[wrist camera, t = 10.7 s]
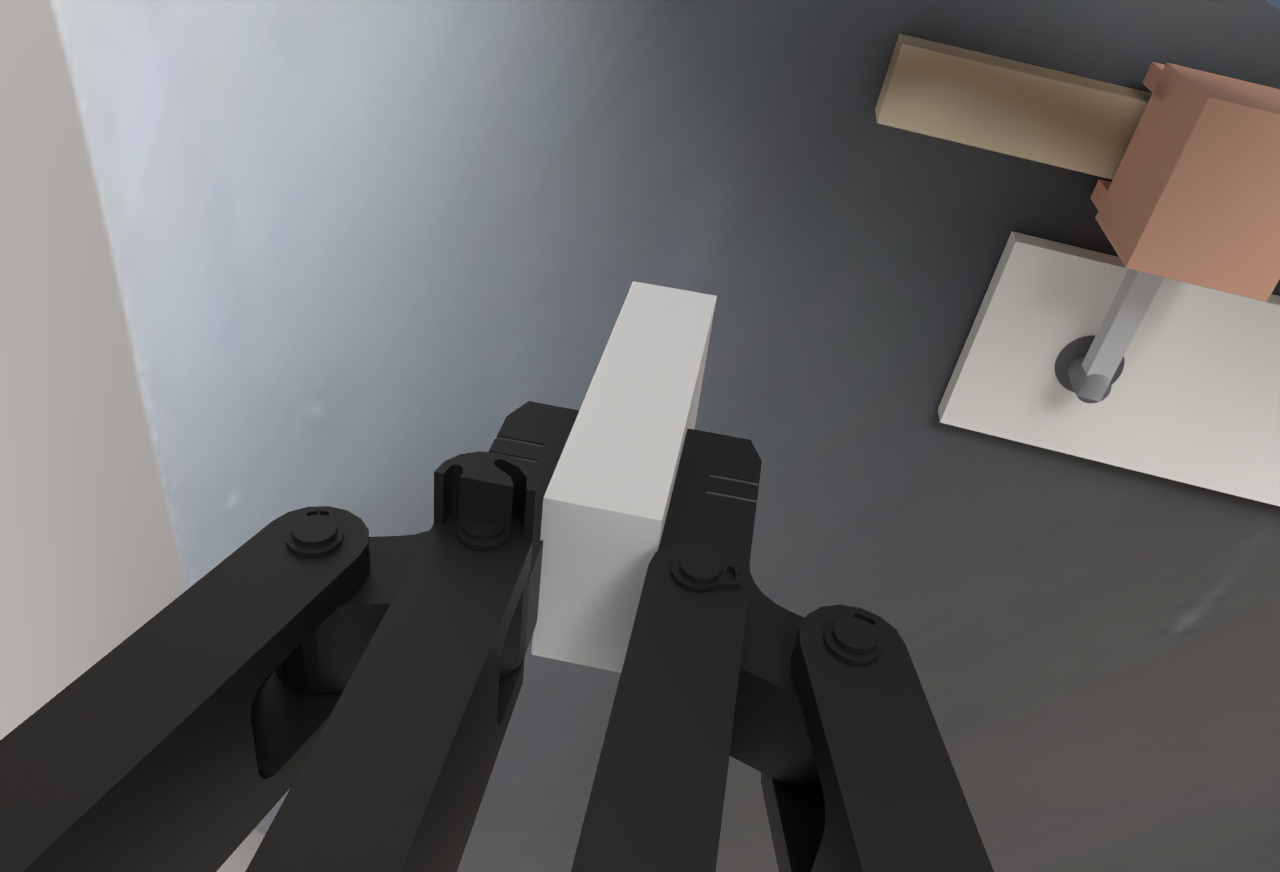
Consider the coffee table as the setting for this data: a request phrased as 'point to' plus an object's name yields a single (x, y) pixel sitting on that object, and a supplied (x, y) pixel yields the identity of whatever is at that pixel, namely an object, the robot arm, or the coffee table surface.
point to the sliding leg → (1188, 204)
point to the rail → (1009, 106)
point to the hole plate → (1125, 372)
